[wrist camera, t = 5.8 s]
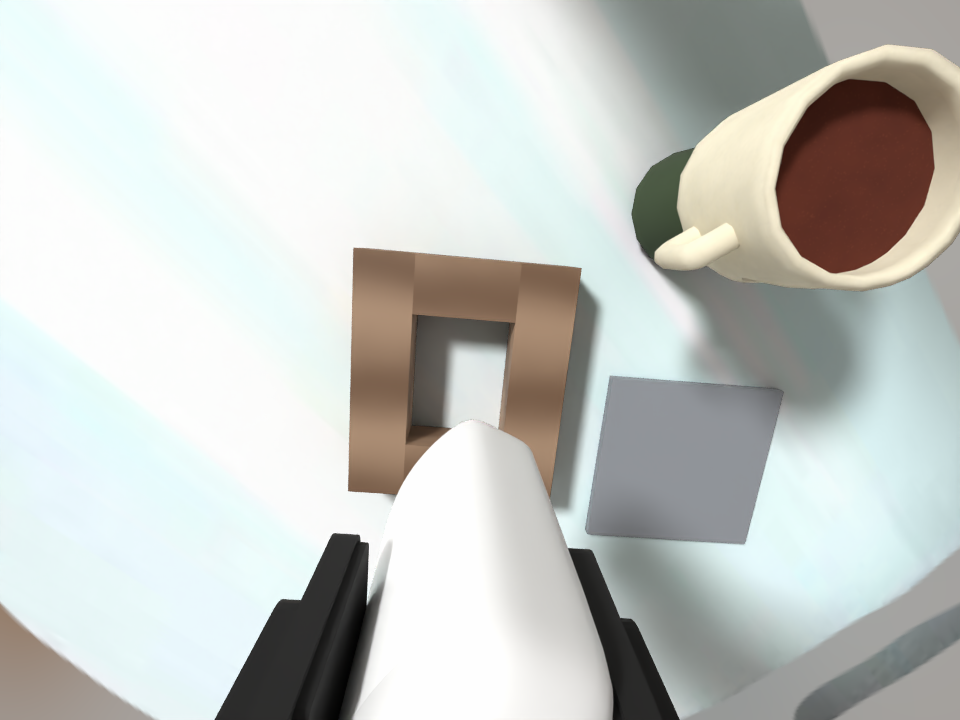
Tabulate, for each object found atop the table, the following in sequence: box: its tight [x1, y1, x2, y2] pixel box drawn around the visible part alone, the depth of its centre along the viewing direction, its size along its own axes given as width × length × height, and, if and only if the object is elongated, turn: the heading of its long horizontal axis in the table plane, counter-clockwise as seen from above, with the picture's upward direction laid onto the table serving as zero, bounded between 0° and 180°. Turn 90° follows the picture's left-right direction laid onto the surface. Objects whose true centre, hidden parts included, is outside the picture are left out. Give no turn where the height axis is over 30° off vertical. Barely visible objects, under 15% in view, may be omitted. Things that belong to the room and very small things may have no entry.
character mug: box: [632, 44, 960, 291], centre depth 20 cm, size 11×7×13 cm, turn 120°
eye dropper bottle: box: [338, 419, 613, 720], centre depth 7 cm, size 4×6×12 cm
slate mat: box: [585, 376, 784, 544], centre depth 30 cm, size 11×11×1 cm
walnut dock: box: [348, 248, 582, 499], centre depth 27 cm, size 14×12×3 cm
